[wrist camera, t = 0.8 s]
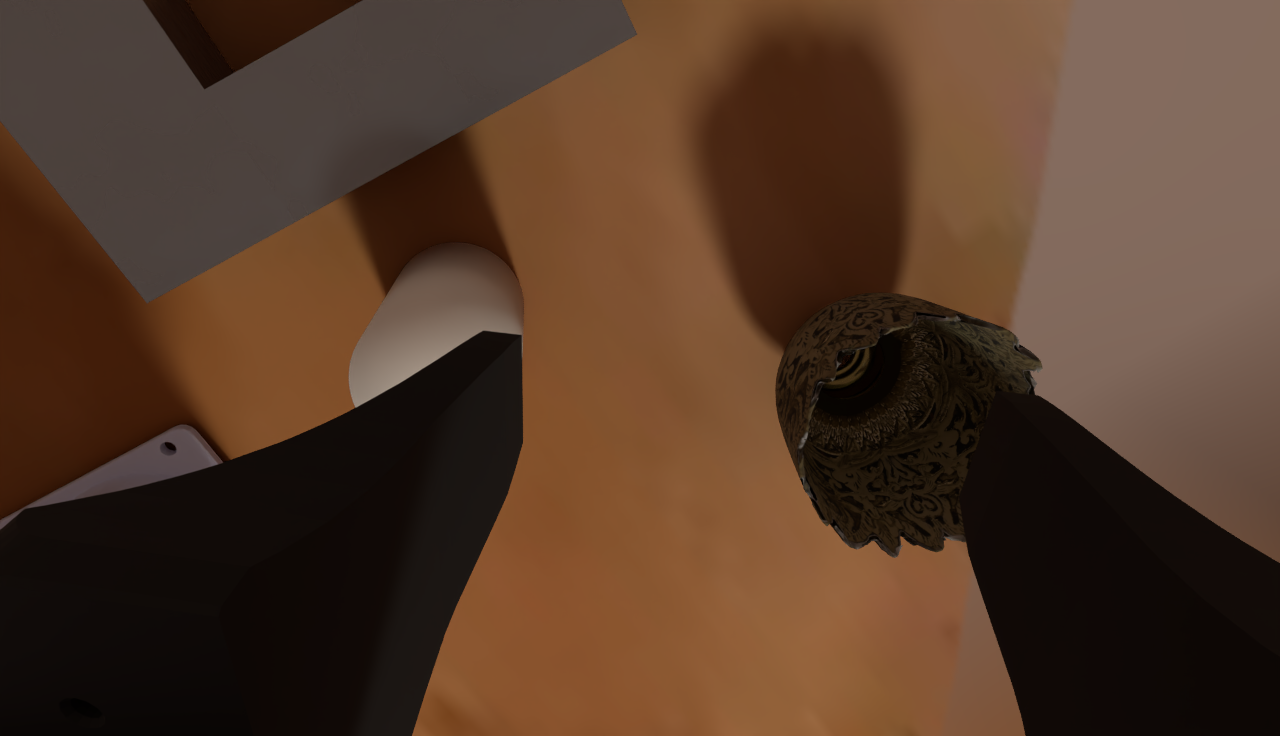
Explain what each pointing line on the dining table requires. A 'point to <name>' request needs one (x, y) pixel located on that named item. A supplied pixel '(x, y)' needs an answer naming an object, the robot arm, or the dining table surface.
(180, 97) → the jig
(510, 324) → the white rounded cylinder
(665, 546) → the dining table surface
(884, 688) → the dining table surface
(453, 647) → the dining table surface
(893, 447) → the cup
